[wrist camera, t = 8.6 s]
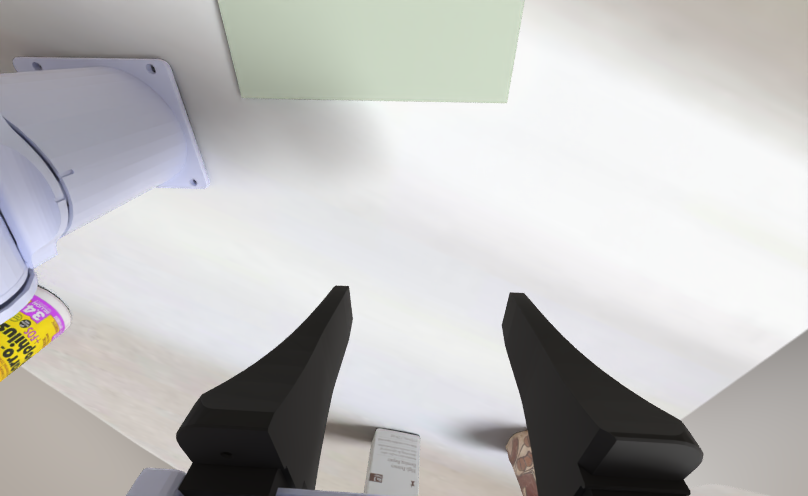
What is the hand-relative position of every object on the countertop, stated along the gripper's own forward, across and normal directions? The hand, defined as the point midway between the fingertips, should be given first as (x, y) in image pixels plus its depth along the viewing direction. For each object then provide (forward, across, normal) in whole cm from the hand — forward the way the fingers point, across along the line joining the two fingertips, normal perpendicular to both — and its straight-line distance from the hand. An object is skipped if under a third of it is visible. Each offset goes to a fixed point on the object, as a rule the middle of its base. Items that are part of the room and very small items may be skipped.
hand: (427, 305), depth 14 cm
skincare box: (+11, +3, +34) cm, 36 cm away
